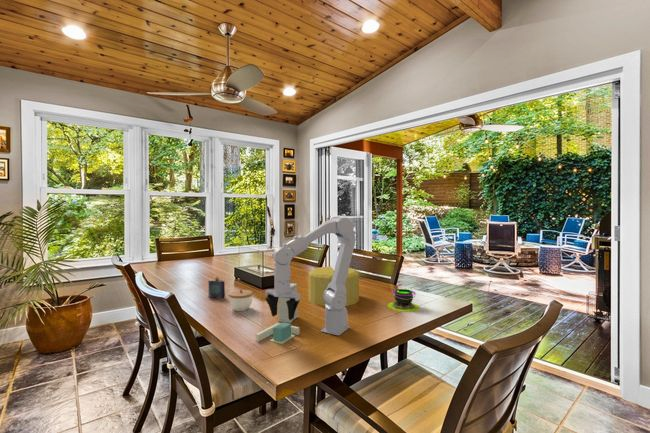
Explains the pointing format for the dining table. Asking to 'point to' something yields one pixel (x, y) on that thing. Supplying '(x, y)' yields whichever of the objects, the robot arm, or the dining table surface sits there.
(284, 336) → the teal brick
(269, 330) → the corner walls
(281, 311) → the skincare box
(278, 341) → the pad
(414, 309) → the toy cauldron
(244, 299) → the lidded jar
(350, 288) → the cheese
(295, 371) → the dining table surface
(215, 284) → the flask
